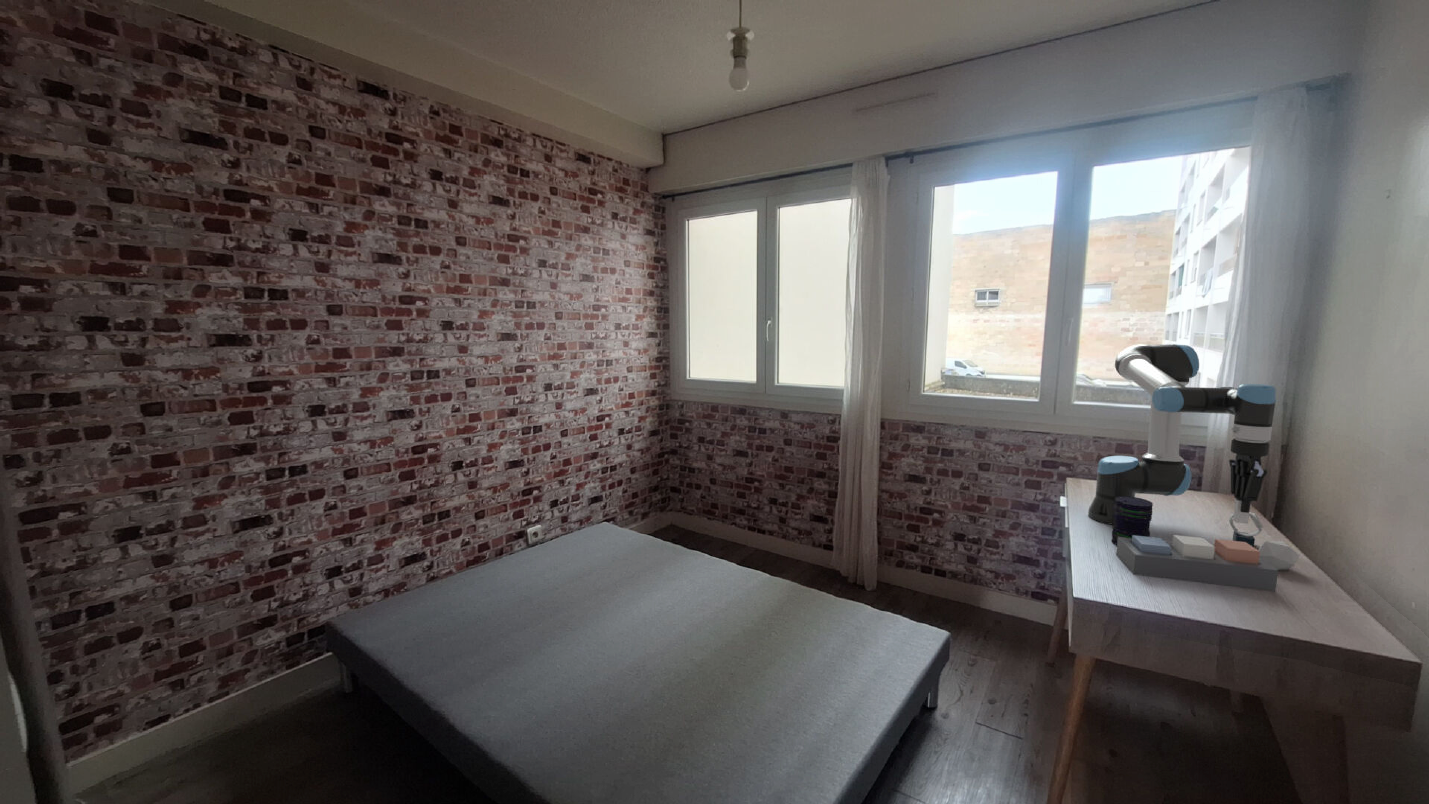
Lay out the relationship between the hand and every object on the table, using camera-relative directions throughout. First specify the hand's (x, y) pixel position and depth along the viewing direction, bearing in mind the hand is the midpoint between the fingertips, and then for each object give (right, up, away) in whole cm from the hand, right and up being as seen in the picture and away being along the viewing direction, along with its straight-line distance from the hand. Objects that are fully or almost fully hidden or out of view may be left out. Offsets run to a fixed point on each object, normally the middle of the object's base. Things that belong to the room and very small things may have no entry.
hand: (1240, 522), depth 152 cm
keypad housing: (-9, -16, +6) cm, 19 cm away
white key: (-9, -11, +5) cm, 16 cm away
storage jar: (-11, -13, +26) cm, 31 cm away
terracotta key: (0, -12, +2) cm, 12 cm away
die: (+18, -16, +8) cm, 25 cm away
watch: (+26, -13, +25) cm, 38 cm away
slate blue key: (-18, -12, +9) cm, 24 cm away
